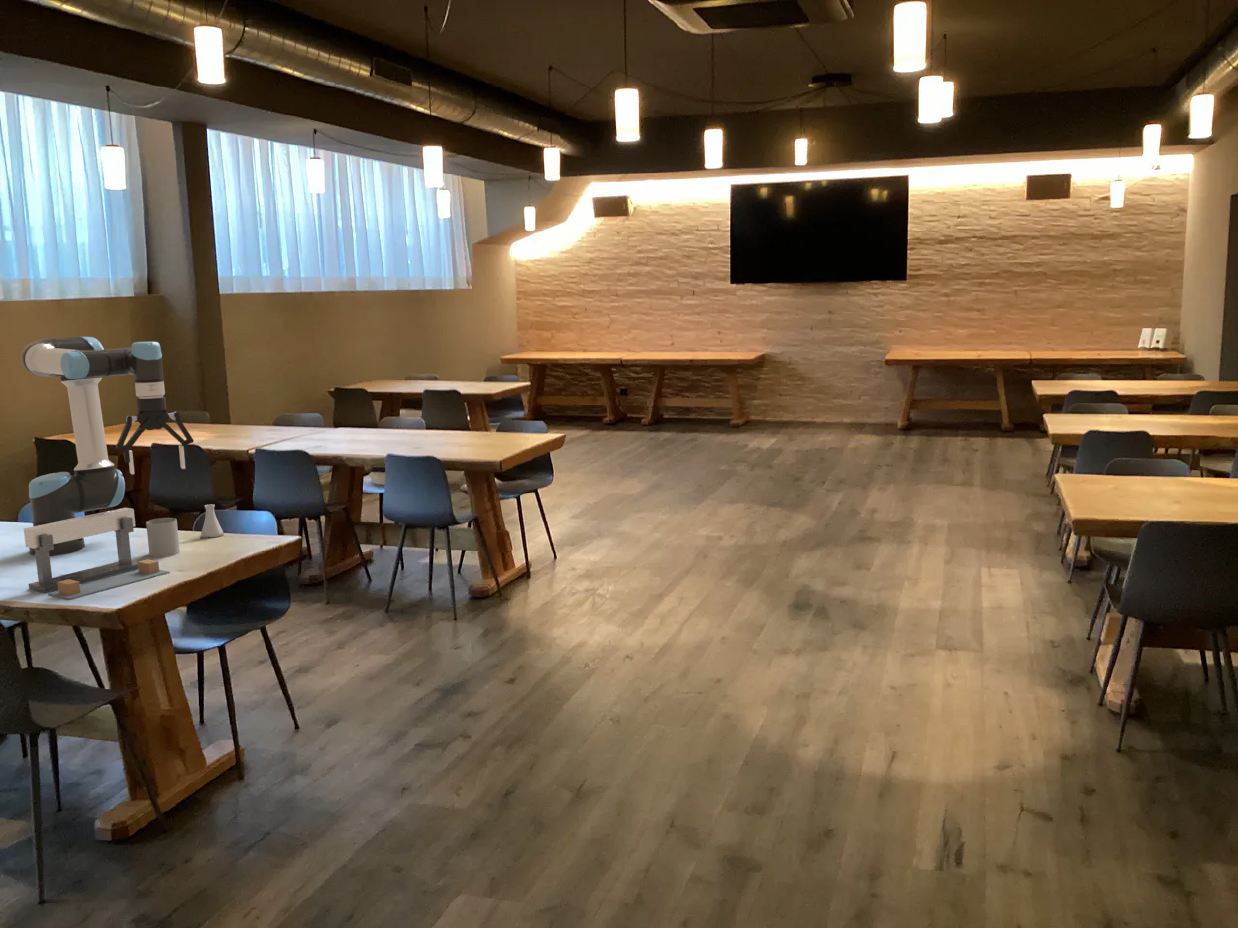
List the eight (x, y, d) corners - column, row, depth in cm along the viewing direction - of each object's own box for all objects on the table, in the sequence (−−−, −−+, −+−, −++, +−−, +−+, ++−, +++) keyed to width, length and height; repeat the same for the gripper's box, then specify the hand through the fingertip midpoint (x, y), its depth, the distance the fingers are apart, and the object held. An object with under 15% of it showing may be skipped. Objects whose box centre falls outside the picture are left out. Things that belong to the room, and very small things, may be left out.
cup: (168, 557, 315) (165, 524, 314) (143, 556, 317) (140, 523, 315) (185, 550, 324) (182, 518, 322) (161, 549, 325) (157, 517, 324)
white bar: (25, 546, 281) (23, 528, 280) (127, 524, 305) (125, 507, 304) (34, 548, 279) (31, 529, 278) (135, 526, 303) (133, 508, 302)
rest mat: (47, 594, 279) (46, 582, 278) (148, 568, 303) (146, 556, 302) (69, 599, 273) (68, 587, 273) (169, 572, 297) (168, 561, 297)
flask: (220, 537, 339) (217, 507, 337) (197, 538, 338) (194, 508, 337) (227, 532, 346) (224, 502, 344) (204, 533, 346) (201, 503, 344)
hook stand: (29, 589, 284) (22, 534, 282) (125, 564, 308) (120, 514, 305) (45, 593, 280) (38, 537, 278) (142, 568, 303) (136, 516, 301)
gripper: (104, 401, 290) (112, 477, 294) (200, 394, 304) (206, 467, 307) (100, 399, 296) (108, 474, 300) (194, 392, 310) (200, 464, 313)
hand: (158, 471), depth 303 cm, fingers open, 13 cm apart
